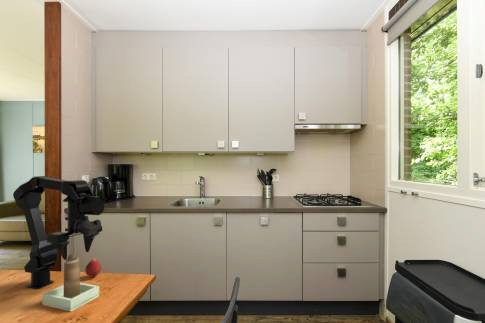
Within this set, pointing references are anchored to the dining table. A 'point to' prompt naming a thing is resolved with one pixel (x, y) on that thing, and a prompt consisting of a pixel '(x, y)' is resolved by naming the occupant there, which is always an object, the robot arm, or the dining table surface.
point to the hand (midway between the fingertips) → (76, 255)
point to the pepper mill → (72, 276)
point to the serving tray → (59, 301)
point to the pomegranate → (93, 268)
